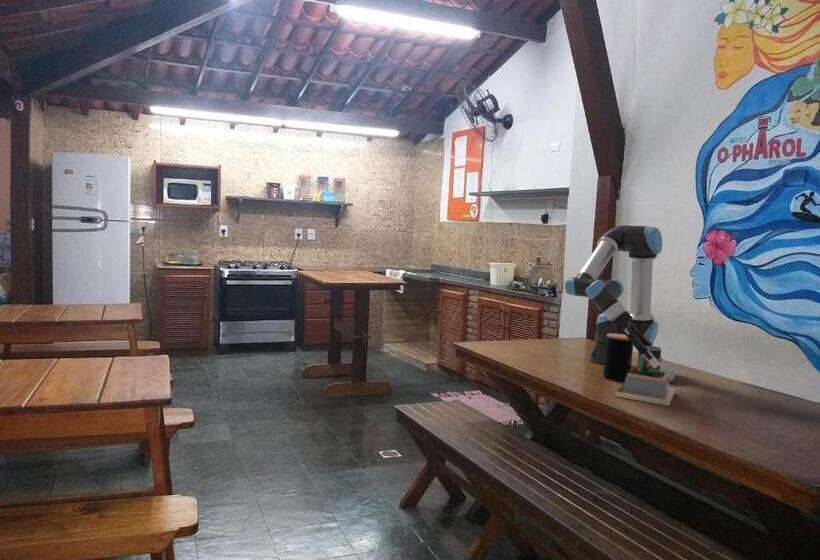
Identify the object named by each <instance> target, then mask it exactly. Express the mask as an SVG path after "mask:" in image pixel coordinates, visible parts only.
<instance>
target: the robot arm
mask: <svg viewBox="0 0 820 560" xmlns="http://www.w3.org/2000/svg"><path fill="white" fill-rule="evenodd" d="M662 247H663V237H662V233H661V230H660V229H659V228H658V227H655V226H649V225H626V224H625V225H624V224H623V225H622V224H621V225H617V226H615V227H613V228H610V229H609V230H607V231H606V232H604V233H603V234H602V235H601V236H600V238H599V239H598V240H597V242H596V247H595V249H594V250H593V251H592V253H591V254H590V256H589V257H588V259H587V261H586V262H585V263H584V265H583V266H582V268H581V269H580V271H579V272H578V274H577V275H576V276H569V277H567V278H566V280H565V283H564V290H565V293H566V294H567V295H570V296H575V297H583V298H589V299H590V300H591V301H592V303H594V305H595V306H596V307H597V308H598V310H599V311H600V312H601V313H599V314H598V316H597V318H596V323H595V324H596V325H595V327H596V329H595V337H594V345H593V348H592V350H591V352H590V354H589V359H588V360H589V361H590V362H592V363H596V364H599V365H604V359H605V348H606V340H607V339H608V338H607V334H610V333H614V334H624V335H626V336H627V337H628V339H629V340H630V341H631V343H632V344H633V347H635V350H637V353H638V352H639V354H640V355H641V354H642V355H643V356H644V357H645V358H646V359H647V361H648V362H649V363H650V364H651V365H652V366H653V368H656V367H657V366H658V365H660V364H661V363H662V362H663V361H664V359H663V357H661V359H660V363H659V361H658V360H657V359H656V358H655V357H654V355H653V354H652V353H651V352H650V351H649V350H647V348H646V347H645V346H644V345H647V346H654V345H653V344H654V342H655V341H656V338H657V335H658V332H659V323H658V322H657V321H656V320H655V316H654V315H653V314H652V313H651V312H652V311H651V310H652V309H651V308H652V307H651V305H652V287H653V286H652V285H653V284H652V283H653V268H654V267H653V265H654V261H655V259H656V258H657V256H658V255H659V254H661V252H662V249H663V248H662ZM618 252H626V253H628V258H629V259H630V260H631V276H630V277H631V281H630V303H629V304H630V306H629V311H627V310H626V308H625V306H624V305H623V303H621V301H620V300H619V298H620V296H622V295H623V293H624V290H625V289H624V284H623V283H622V282H621V281H620V280H618V279H609V280H603V279H598V278H599V276H600V275H601V273H602V272H603V271H604V269H605V268H606V266H607V264H608V263H609V261H610V260H611V258H612V256H615V255H616V254H617V253H618ZM657 259H658V258H657Z"/></svg>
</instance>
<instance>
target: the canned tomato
mask: <svg viewBox="0 0 820 560" xmlns="http://www.w3.org/2000/svg"><path fill="white" fill-rule="evenodd" d="M644 346H645V347H646V348H647V350H649V351H650V352H651V353H652V354H653V355H654V357H655V358H656V359H657V360H658V361H659V363H660V364H661V362H660V359H661V358H662V348H661V347H660V346H656V345H655V346H654V345H652V346H647V345H644ZM637 353H638V354H637V355H638V356H637V365H636V366H637V374H640V375H646V376H653V377H659V369H660V365H658V366H657V367H656V368H653V366H652V365H651V364H650V363H649V362H648V361H647V359H646V358H645V357H644V356H643V355H642V354H641V355H640V354H639V352H638V351H637Z"/></svg>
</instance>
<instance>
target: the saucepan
mask: <svg viewBox="0 0 820 560" xmlns="http://www.w3.org/2000/svg"><path fill="white" fill-rule="evenodd" d="M632 367H636V368H637V365H631V368H632ZM676 370H677V368H676V367H674V366H672V365H668V364H662V363H660V369H659V371H661V372H668V373H669V377H670V382H671V381H674V380H675V373H676Z"/></svg>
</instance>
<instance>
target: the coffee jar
mask: <svg viewBox="0 0 820 560" xmlns="http://www.w3.org/2000/svg"><path fill="white" fill-rule="evenodd" d="M607 338H608V339H607V340H606V348H605V359H604V364H603V369H602V371H603V372H602V375H603V377H604V378H605V379H606V378H607V380H609V379H611V380H610V381H613V380H616V381H615V382H625V377H626V376H627V373H628V372H629V371H630V369H631V366H632V359H633V351H634V345H633V344H632V343H631V341H630V340H629V339H628V337H627V336H626V335H624V334H614V333H610V334H607Z"/></svg>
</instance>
